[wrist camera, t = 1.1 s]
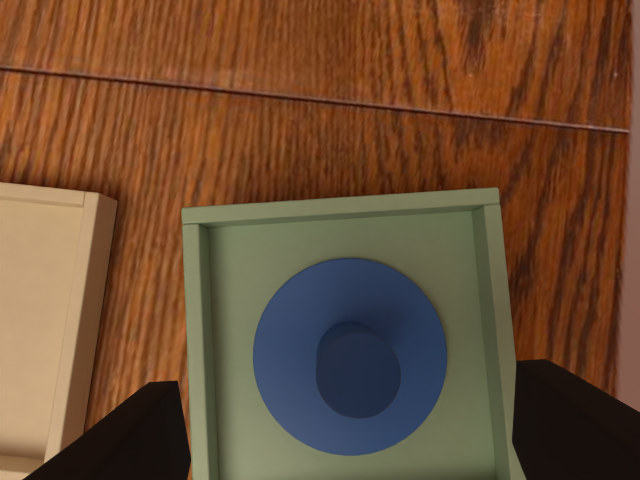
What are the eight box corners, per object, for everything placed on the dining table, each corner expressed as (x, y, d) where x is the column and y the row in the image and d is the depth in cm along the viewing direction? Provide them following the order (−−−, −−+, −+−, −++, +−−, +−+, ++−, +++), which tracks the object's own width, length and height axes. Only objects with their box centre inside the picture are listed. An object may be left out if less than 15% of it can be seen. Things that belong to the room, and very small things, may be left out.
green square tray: (479, 461, 22) (532, 519, 16) (225, 478, 22) (194, 543, 16) (456, 210, 23) (499, 186, 17) (214, 226, 23) (180, 207, 17)
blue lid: (451, 443, 18) (496, 498, 13) (260, 456, 18) (239, 515, 13) (434, 252, 19) (472, 242, 14) (249, 264, 19) (226, 257, 14)
